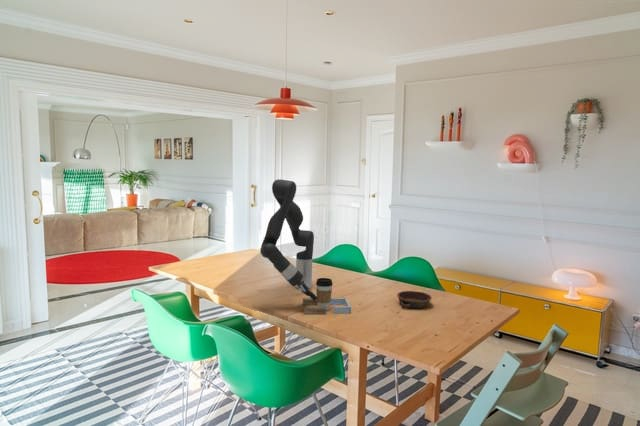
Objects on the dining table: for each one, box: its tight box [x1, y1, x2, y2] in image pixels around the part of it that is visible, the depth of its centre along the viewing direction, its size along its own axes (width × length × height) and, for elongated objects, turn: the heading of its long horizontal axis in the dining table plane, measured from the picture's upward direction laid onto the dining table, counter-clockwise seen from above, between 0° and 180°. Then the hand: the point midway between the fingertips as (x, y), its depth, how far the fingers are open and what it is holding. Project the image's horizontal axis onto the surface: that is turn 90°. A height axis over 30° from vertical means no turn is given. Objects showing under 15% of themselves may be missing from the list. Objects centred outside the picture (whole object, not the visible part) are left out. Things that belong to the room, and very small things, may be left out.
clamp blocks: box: [302, 297, 327, 315], centre depth 218 cm, size 17×10×2 cm, turn 5°
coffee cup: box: [315, 277, 334, 311], centre depth 217 cm, size 8×8×15 cm
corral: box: [330, 297, 352, 314], centre depth 219 cm, size 14×8×3 cm, turn 5°
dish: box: [396, 290, 432, 309], centre depth 229 cm, size 18×22×5 cm
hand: (315, 299), depth 217 cm, fingers closed
